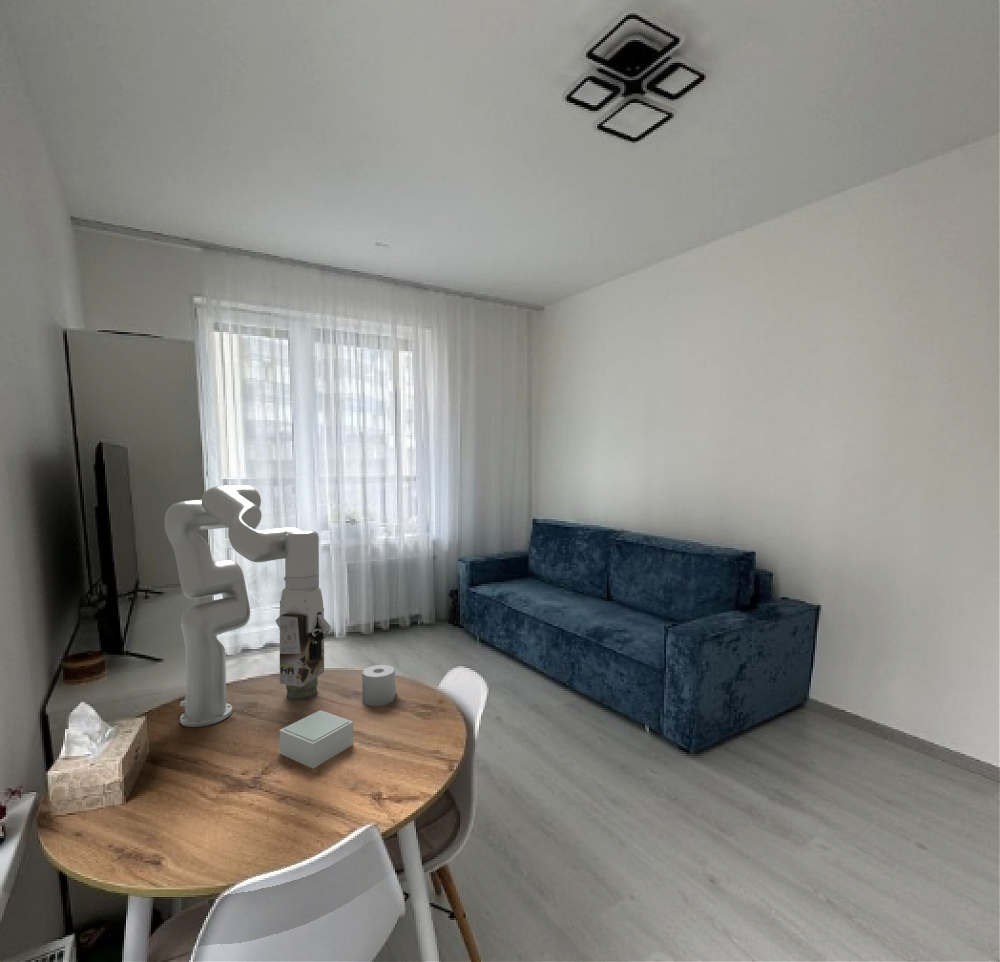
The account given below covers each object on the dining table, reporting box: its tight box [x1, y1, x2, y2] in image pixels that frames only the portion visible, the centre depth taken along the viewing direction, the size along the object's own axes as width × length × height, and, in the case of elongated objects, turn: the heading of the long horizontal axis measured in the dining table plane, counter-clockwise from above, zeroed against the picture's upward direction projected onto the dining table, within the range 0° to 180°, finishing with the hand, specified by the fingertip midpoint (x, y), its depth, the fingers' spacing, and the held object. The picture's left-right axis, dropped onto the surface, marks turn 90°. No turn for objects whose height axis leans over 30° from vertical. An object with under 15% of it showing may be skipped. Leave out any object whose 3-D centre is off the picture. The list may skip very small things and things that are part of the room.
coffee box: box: [279, 614, 325, 687], centre depth 122 cm, size 9×6×16 cm
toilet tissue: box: [361, 664, 397, 707], centre depth 154 cm, size 9×13×9 cm
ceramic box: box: [279, 709, 354, 770], centre depth 125 cm, size 12×12×6 cm
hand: (303, 655), depth 122 cm, fingers closed on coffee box, 7 cm apart
